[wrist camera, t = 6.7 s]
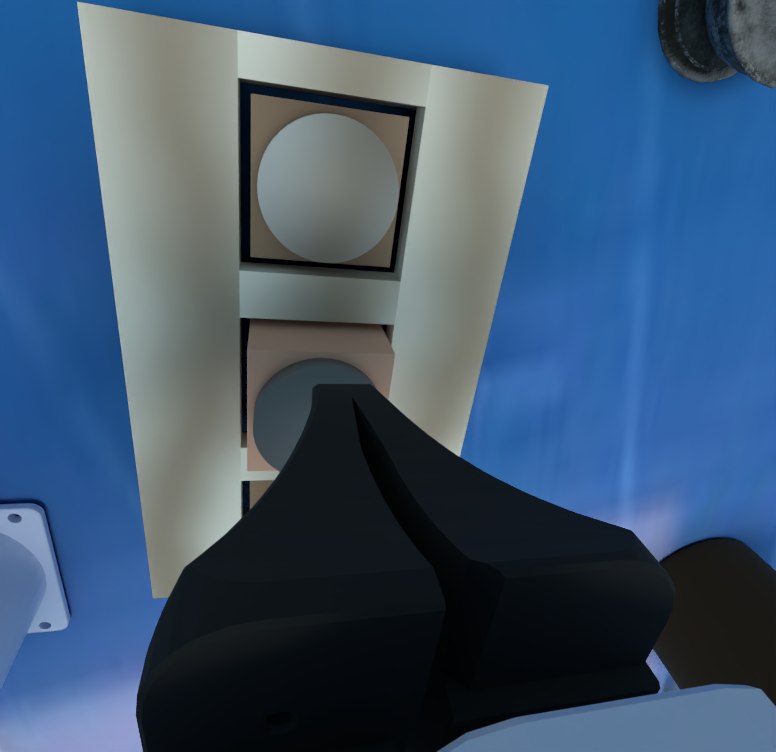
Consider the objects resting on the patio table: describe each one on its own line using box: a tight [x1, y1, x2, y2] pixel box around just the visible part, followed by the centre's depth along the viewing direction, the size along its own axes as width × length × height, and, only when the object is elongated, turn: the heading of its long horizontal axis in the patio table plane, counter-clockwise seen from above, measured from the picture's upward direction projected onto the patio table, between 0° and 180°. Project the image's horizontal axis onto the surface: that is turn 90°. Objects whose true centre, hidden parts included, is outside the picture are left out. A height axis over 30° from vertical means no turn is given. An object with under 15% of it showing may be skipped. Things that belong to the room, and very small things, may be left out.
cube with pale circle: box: [250, 93, 409, 267], centre depth 16 cm, size 4×4×4 cm
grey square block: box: [77, 2, 548, 598], centre depth 19 cm, size 12×20×4 cm, turn 172°
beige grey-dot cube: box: [247, 318, 395, 472], centre depth 17 cm, size 4×4×4 cm
